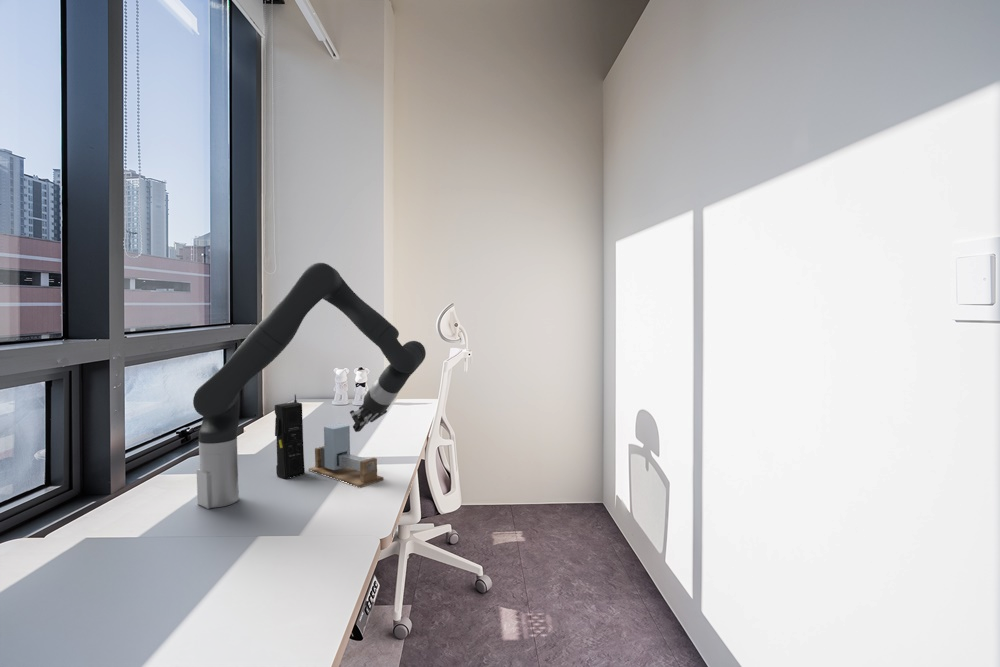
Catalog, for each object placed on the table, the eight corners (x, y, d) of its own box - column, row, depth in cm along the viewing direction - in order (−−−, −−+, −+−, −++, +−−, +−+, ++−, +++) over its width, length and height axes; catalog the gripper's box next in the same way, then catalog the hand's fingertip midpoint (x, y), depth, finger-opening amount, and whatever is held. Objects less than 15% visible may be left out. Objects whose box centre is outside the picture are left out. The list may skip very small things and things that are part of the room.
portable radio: (283, 480, 165) (281, 399, 164) (272, 476, 169) (270, 397, 167) (306, 474, 171) (304, 395, 170) (295, 470, 175) (293, 393, 174)
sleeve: (350, 465, 174) (349, 425, 173) (334, 470, 169) (333, 429, 168) (340, 462, 177) (340, 423, 176) (324, 467, 172) (323, 426, 171)
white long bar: (374, 471, 164) (374, 460, 164) (365, 473, 161) (365, 462, 161) (326, 456, 179) (326, 446, 179) (317, 459, 177) (317, 448, 176)
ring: (340, 462, 177) (340, 444, 176) (324, 467, 172) (324, 448, 172) (337, 461, 178) (336, 443, 178) (321, 466, 173) (320, 447, 173)
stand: (383, 479, 166) (383, 457, 166) (359, 487, 159) (358, 464, 158) (332, 464, 182) (332, 443, 182) (308, 470, 175) (308, 449, 175)
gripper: (393, 381, 164) (368, 416, 173) (357, 386, 154) (332, 423, 162) (405, 401, 161) (378, 435, 170) (369, 407, 151) (343, 443, 159)
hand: (356, 429), depth 166 cm, fingers closed
